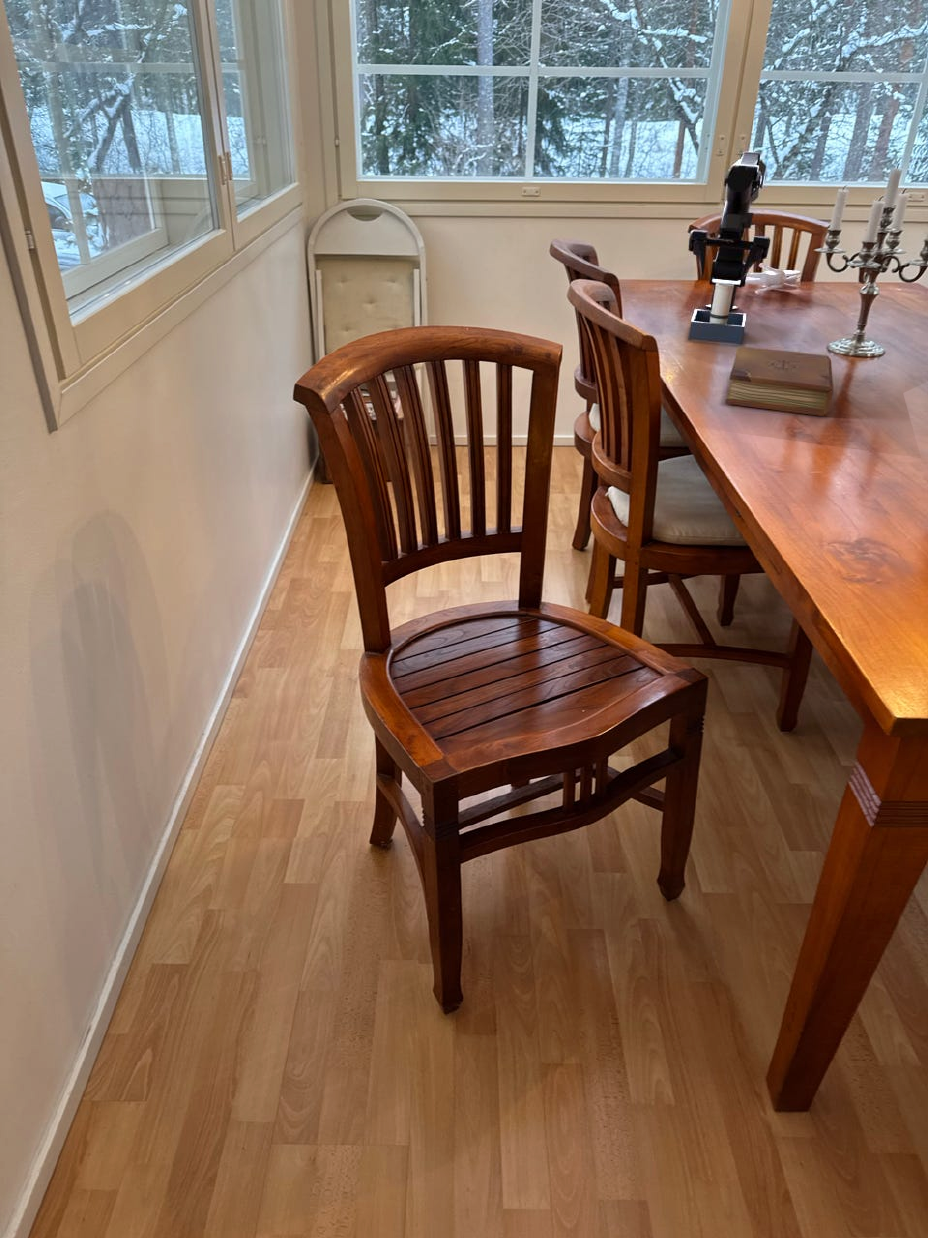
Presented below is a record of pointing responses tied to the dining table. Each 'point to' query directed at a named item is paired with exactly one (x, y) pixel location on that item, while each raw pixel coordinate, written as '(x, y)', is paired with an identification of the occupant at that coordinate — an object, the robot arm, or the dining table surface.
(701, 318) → the box
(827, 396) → the diary
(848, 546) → the dining table surface
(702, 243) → the robot arm
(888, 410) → the dining table surface
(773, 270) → the figurine
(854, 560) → the dining table surface
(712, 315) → the light grey piece
